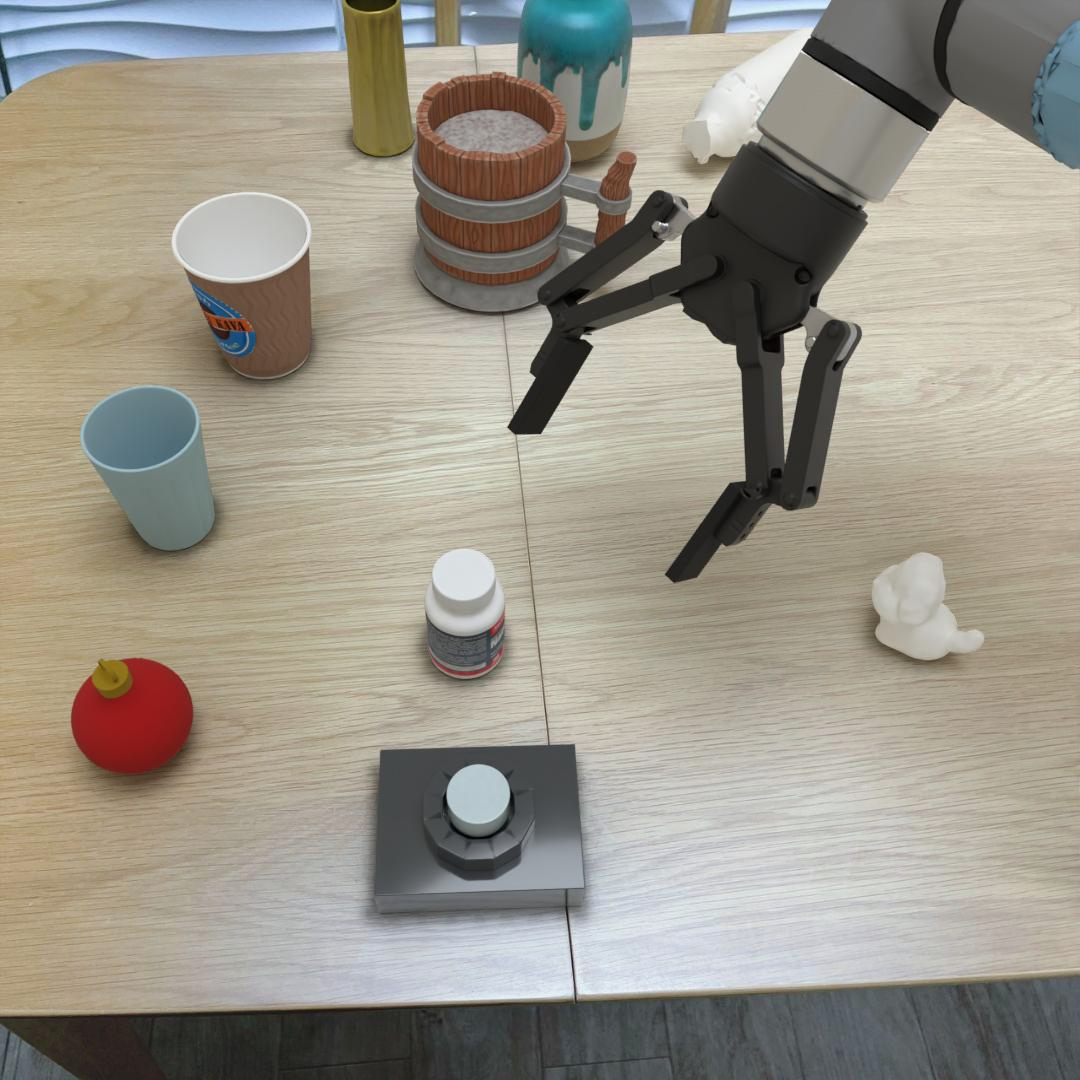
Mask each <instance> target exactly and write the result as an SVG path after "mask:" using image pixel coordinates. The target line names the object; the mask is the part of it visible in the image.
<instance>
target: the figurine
mask: <svg viewBox="0 0 1080 1080" xmlns="http://www.w3.org/2000/svg"><path fill="white" fill-rule="evenodd" d="M946 589H947V580H946V577H945V573H944V564H943V561H942V559H941V558H940V557H939V556H938V555H937V556H936V555H935V554H932V553H930V552H924V551H920V552H917V553H914V554H912V555H910V557H909V558H907V559H905V560H904V561H902V562H901V563H899V564H892V565H890V566H888V567H887V568H885V569H884V570H882V571H881V572H880V573H879V575H877V577H876V578H875V579H873V581H872V588H871V599H872V600H871V601H872V605H873V607H874V610H875V611H876V612H877V614H878V615H879V623H878V624H877V626H876V628H875V638H876V639H877V640H878V641H879V642H880V643H882V644H883V645H885V646H887V647H889V648H891V649H893V650H896V651H898V652H900V653H902V654H904V655H906V656H908V657H911V658H912V659H916V660H922V661H932V660H933V661H935V660H938V659H942V658H943V657H945V656H946V655H948V654H949V653H955V654H970V653H974V652H976V651H978V650H979V649H980V648H981V647H982V646H983V645H984V643H985V635H984V633H983V632H982V631H981V630H979V629H969V630H966V631H963V630H958V622H957V618H956V617H955V615H954V613H952V611H951V610H950V609H949V607H948V606H947V605H946V604H944V603H943V601H944V599H945V598H946V597H945V596H946Z"/></svg>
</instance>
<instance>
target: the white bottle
mask: <svg viewBox="0 0 1080 1080" xmlns="http://www.w3.org/2000/svg"><path fill="white" fill-rule="evenodd" d="M814 28H815V27H812V26H810V27H802V28H799V29H796V30H794V31H792V33H790V34H788V35H787V36H786V37H783V39H781V40H779V41H778V42H776V43H774V44H773V45H770V46H769V47H768V48H766V49H764V50H763V51H761V52H759V53H758V54H755V55H754V56H752V57H751V58H749V59H748V60H746V61H744V62H742V63H740V64H738V65H737V66H735V67H734V68H732V69H731V70H729V71H727V72H725V73H724V74H722V75H721V76H720V77H719V78H717V79H716V80H715V81H714V82H713V84H712V87H711V89H709V90H708V91H707V92H706V93H705V94H704V96H702V98H701V99H700V100H699V103H698V104H697V107H696V108H695V114H694V119H693V120H691V121H689V122H688V123H687V124H685V125H684V126H682V135H681V139H682V141H683V144H684V146H685V149H686V150H688V151H689V152H690V153H692V155H693V158H695V159H697V164H700V165H704V164H707V163H708V161H709V160H710V159H709V158H710V157H711V156H714V155H716V156H718V157H720V158H731V157H735V156H736V154H737V153H738V151H739V149H740V148H741V146H742V145H743V144H746V145H747V144H748V142H749V141H754V142H756V143H758V142H759V140H760V138H761V136H762V133H761V132H760V131H759V130H758V129H757V124H756V121H757V119H758V118H759V116H760V115H761V113H762V111H763V110H764V108H765V107H766V105H767V103H768V102H769V100H770V99H771V97H772V96H773V94H774V92H775V91H776V89H777V88H778V86H779V84H780V83H781V81H782V80H783V78H784V77H785V75H786V73H787V72H788V70H789V69H790V67H791V66H792V64H793V62H794V61H795V59H796V58H797V56H798V54H799V53H800V52H801V53H803V54H805V53H804V52H803V51H802V48H803V46H804V45H805V43H806V41H807V40H808V38H811V36H810V35H811V33H812V32H813V30H814ZM805 55H807V54H805ZM807 56H808V55H807ZM809 57H810V56H809ZM812 59H813V58H812Z"/></svg>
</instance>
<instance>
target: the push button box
mask: <svg viewBox="0 0 1080 1080" xmlns="http://www.w3.org/2000/svg"><path fill="white" fill-rule="evenodd" d="M576 752H577V751H576V744H575V743H564V744H563V743H562V744H559V743H558V744H531V745H530V744H529V745H526V744H525V745H495V746H494V745H493V746H462V747H461V746H458V747H456V746H455V747H426V748H425V747H423V748H392V749H391V748H390V749H380V750H379V770H378V792H377V816H376V818H377V819H376V837H375V839H376V840H375V841H376V842H375V861H374V863H375V864H374V865H375V867H374V884H373V885H374V889H373V896H374V901H375V904H376V907H377V911H378V913H379V914H394V913H395V914H396V913H421V912H422V913H423V912H446V911H449V912H450V911H476V910H477V911H479V910H501V909H503V910H505V909H529V908H556V907H557V908H558V907H560V908H561V907H582V905H583V901H584V897H585V896H584V895H585V891H586V880H585V867H584V866H585V864H584V853H583V852H584V851H583V836H582V823H581V809H580V807H581V806H580V795H579V793H580V792H579V780H578V768H577V767H578V765H577V753H576ZM476 764H482V765H487V766H491V767H493V768H495V769H497V770H498V771H499V772H500V773H501V774H502V775H503V776H504V777H505V778H506V780H507V782H508V785H509V788H510V810H509V815H508V818H507V820H506V822H505V823H504V825H503V826H502V827H501V828H500V829H499V830H497V831H496V832H494V833H493V834H490V835H488V836H483V837H473V836H469V835H466V834H464V833H462V832H460V831H459V830H458V829H457V828H456V827H455V826H454V825H453V824H452V822H451V820H450V818H449V814H448V806H447V788H448V785H449V782H450V780H451V779H452V777H453V776H454V775H455V774H456V773H457V772H458V771H460V770H461V769H463V768H465V767H467V766H470V765H476Z"/></svg>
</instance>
